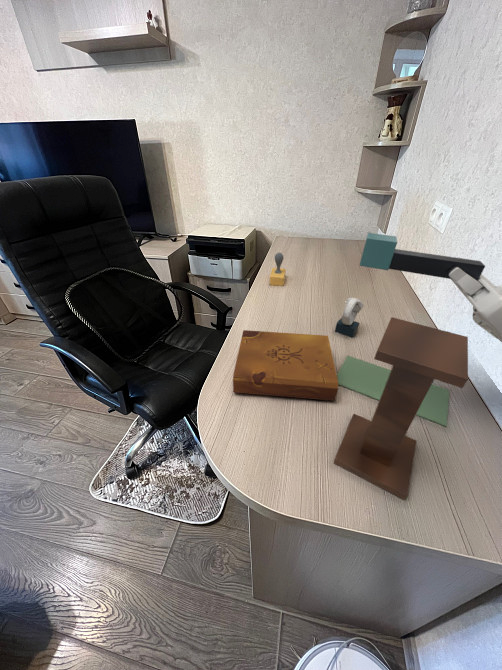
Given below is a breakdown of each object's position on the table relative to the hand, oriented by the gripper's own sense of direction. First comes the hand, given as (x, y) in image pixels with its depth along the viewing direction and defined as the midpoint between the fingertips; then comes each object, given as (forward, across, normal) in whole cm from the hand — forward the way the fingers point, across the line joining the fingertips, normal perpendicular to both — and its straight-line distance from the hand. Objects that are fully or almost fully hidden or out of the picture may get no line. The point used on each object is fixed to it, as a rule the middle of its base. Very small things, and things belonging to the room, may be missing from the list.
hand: (447, 265), depth 48 cm
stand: (-11, +18, +30) cm, 36 cm away
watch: (-7, -23, +32) cm, 40 cm away
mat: (-15, -1, +27) cm, 31 cm away
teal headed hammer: (+3, -1, +4) cm, 5 cm away
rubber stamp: (+17, -55, +46) cm, 74 cm away
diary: (+7, 0, +40) cm, 41 cm away
